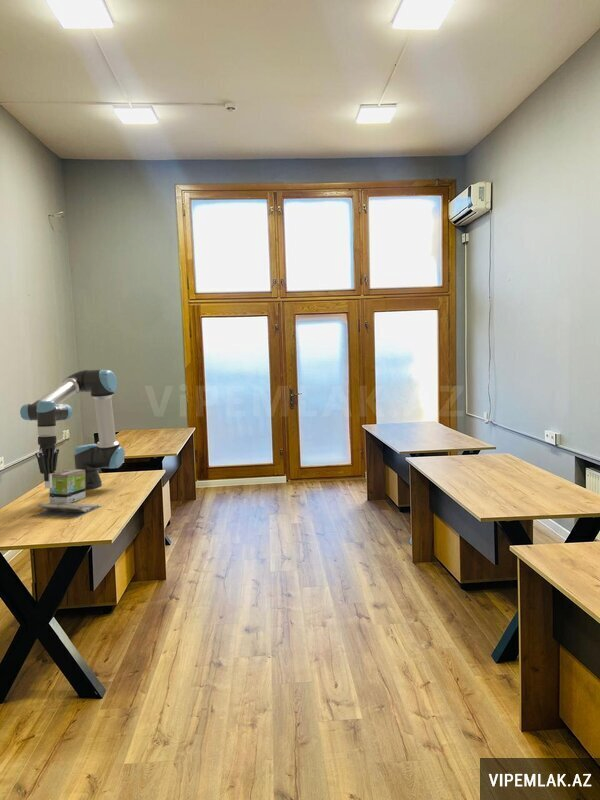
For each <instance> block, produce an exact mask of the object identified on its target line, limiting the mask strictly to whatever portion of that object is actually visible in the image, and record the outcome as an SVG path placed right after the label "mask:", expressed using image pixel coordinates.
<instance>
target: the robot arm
mask: <svg viewBox="0 0 600 800" xmlns="http://www.w3.org/2000/svg"><path fill="white" fill-rule="evenodd" d="M117 389H118V378H117V377H116V374H115V373H114V372H113V371H112V370H110V369H85V370H84V369H82V370H79V371H76V372H74V373H72V374H70V375H68V376H67V377H65V378H64V379H63V380H62V382H61V383H60V384H59V385H57V386H56V387H55V388H53V389H52V390H50V391H49V392H48V393H46V394H45V395H44V396H42V397H40V398H38V400H36V401H34V402H33V403H32V404H30V403H28V404H27V403H26V404H23V405H22V406H21V407H20V410H19V414H20V417H21V419H23V420H24V421H36V422H37V445H39V451H38V452H35V457H36V459H37V463H38V469H39V473H40V474H42V475H43V481H44V488H45V489H50V488H52V479H53V477H52V476H53V475H52V473H55V472H57V465H58V464H57V463H58V458H59V457H58V456H59V452H60V449H59V448H58V449H57V448H56V444H57V436H56V435H57V422H59V421H65V420H69V419H70V418H71V417H72V416H73V408H72V406H71V405H69V404H67V403H63V402H65V401H66V400H67V399H68V398H70V397H71V396H75V395H77V394H78V393H90V397H91V398H93V399H94V406H95V415H96V426H97V433H98V441H99V442H98V443H90V444H88V443H87V444H83V445H79V446H76V447H75V448H74V455H73V456H74V469H79V470H85V490H92V489H96V488H100V487H102V486H103V481H102V479H101V476H100V473H99V469H118V468H120V467H122V465H123V463H124V461H125V458H126V457H125V455H126V454H125V453H126V452H125V449H124V447H122V446H120V442H119V441H118V440H117V436H116V430H115V429H116V428H115V419H114V417H115V416H114V410H113V401H112V397H113V396H114V395H115V392H116V391H117Z"/></svg>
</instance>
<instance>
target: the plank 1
mask: <svg viewBox="0 0 600 800" xmlns="http://www.w3.org/2000/svg"><path fill="white" fill-rule="evenodd" d="M37 506H38V507H39V508H42V509H44V510H45V509H46V510H57V511H66V510H64V509H61V508H58V507H57V506H58V505H57V504H50V503H40V502H38V503H37Z"/></svg>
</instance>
